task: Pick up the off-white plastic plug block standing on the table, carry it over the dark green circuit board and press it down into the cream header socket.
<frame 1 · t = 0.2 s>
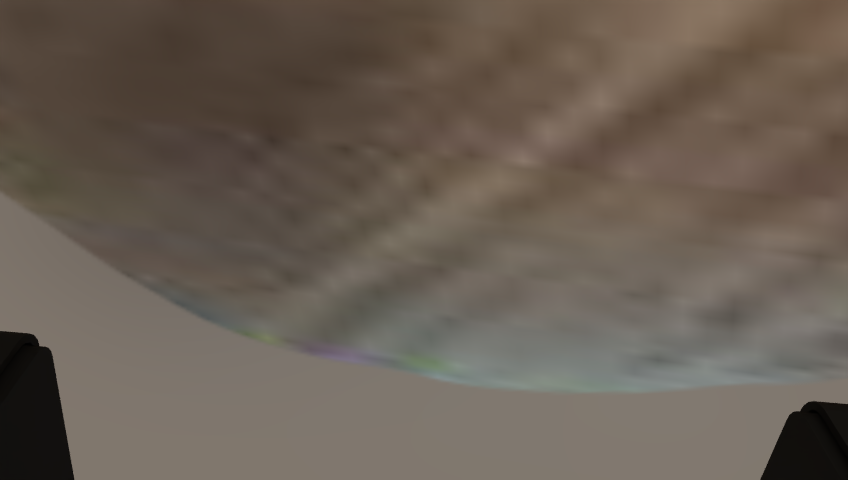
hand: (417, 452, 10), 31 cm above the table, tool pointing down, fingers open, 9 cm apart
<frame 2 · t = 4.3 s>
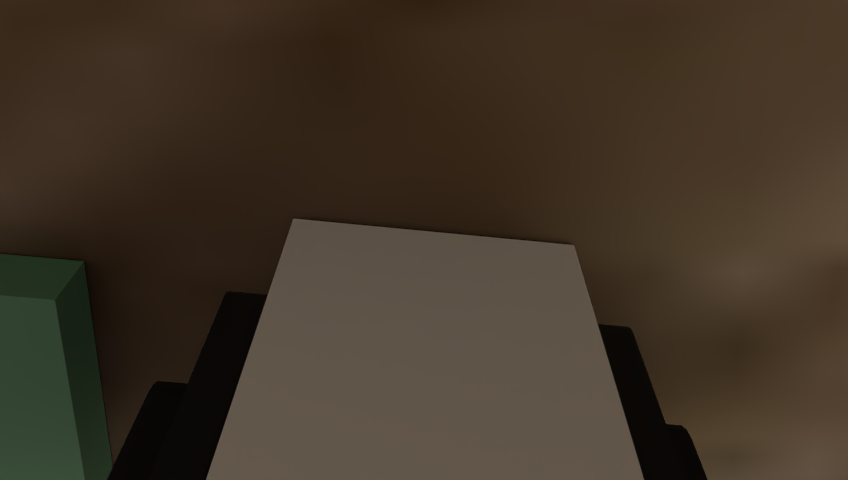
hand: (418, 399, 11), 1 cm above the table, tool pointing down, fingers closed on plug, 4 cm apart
plug: (420, 343, 12), on the table, touching gripper
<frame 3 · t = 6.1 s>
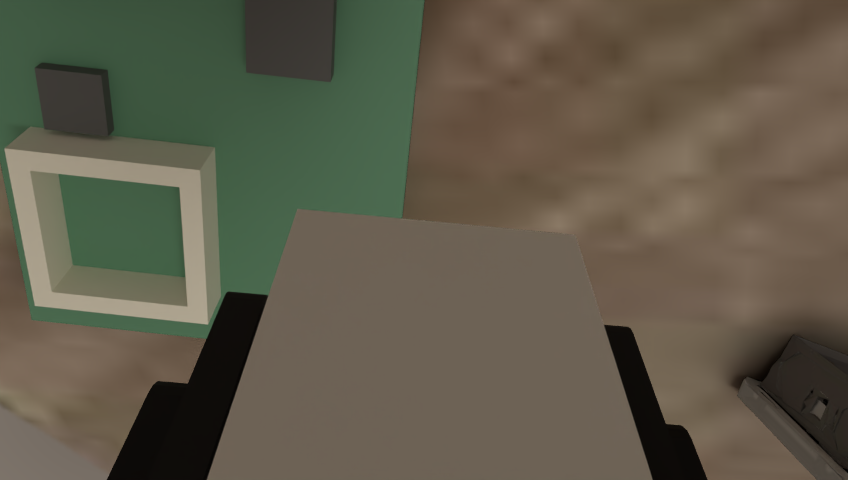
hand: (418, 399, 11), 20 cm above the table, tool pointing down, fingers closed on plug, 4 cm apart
board: (207, 124, 31), on the table
plug: (423, 334, 12), point 19 cm above the table, touching gripper
electrical switch: (842, 372, 36), on the table
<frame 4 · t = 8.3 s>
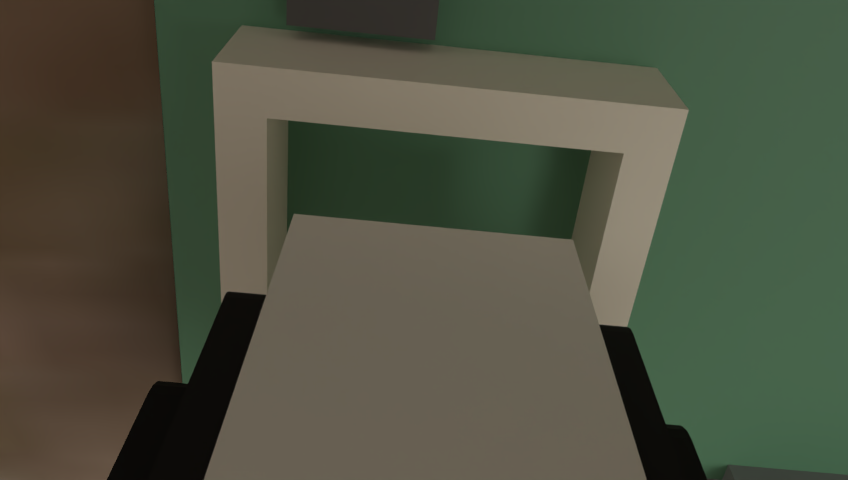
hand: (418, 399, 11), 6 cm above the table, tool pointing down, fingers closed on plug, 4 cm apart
board: (619, 23, 14), on the table
plug: (420, 339, 12), point 4 cm above the table, touching gripper
when the fingers open (4 cm above the table, at t = 8.9 s): plug drops 1 cm, resting on board.
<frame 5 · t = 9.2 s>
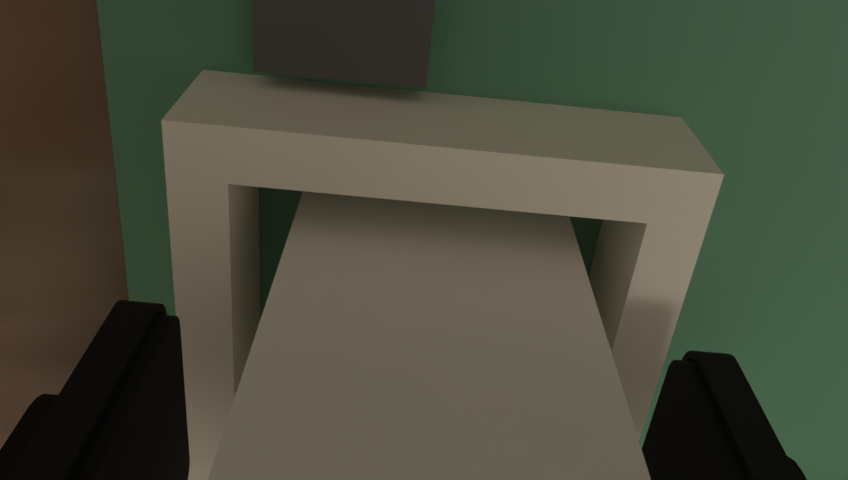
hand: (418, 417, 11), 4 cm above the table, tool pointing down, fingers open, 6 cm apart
board: (637, 63, 12), on the table
plug: (425, 289, 13), point 1 cm above the table, touching board
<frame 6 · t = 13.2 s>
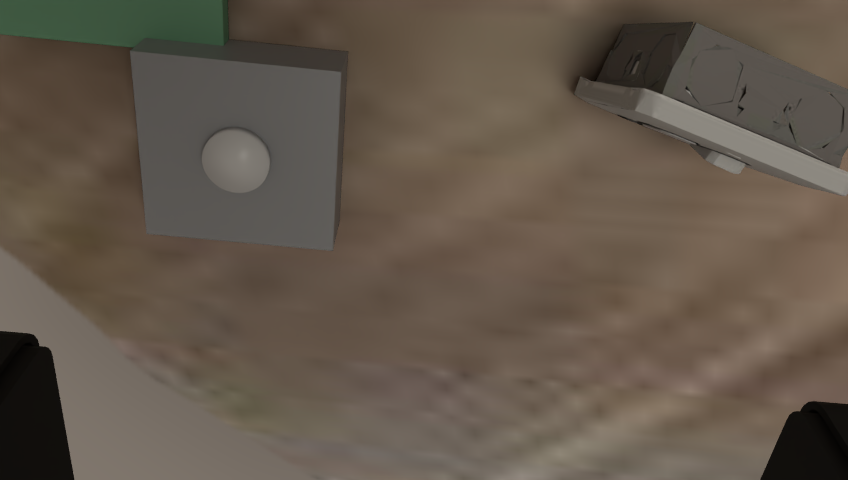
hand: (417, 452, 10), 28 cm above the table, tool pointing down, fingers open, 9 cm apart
electrical switch: (678, 72, 37), on the table
grey knob block: (251, 132, 38), on the table
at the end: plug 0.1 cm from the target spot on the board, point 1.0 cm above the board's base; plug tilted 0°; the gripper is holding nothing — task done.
